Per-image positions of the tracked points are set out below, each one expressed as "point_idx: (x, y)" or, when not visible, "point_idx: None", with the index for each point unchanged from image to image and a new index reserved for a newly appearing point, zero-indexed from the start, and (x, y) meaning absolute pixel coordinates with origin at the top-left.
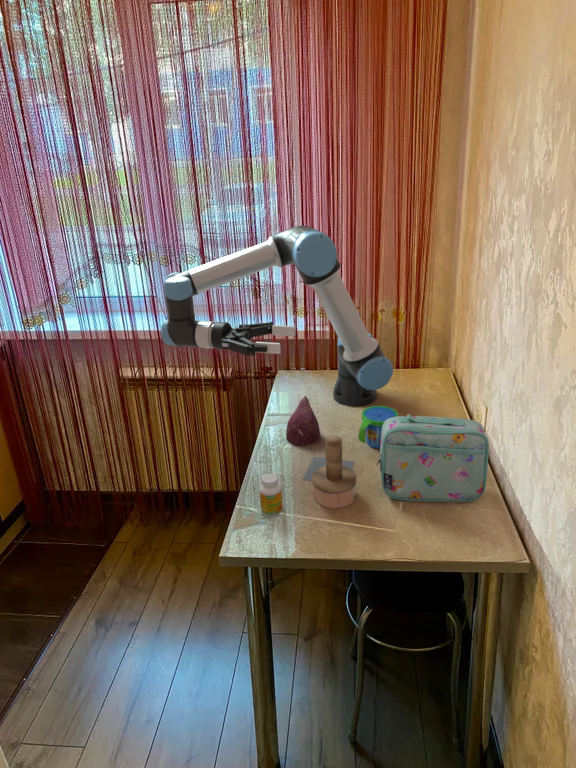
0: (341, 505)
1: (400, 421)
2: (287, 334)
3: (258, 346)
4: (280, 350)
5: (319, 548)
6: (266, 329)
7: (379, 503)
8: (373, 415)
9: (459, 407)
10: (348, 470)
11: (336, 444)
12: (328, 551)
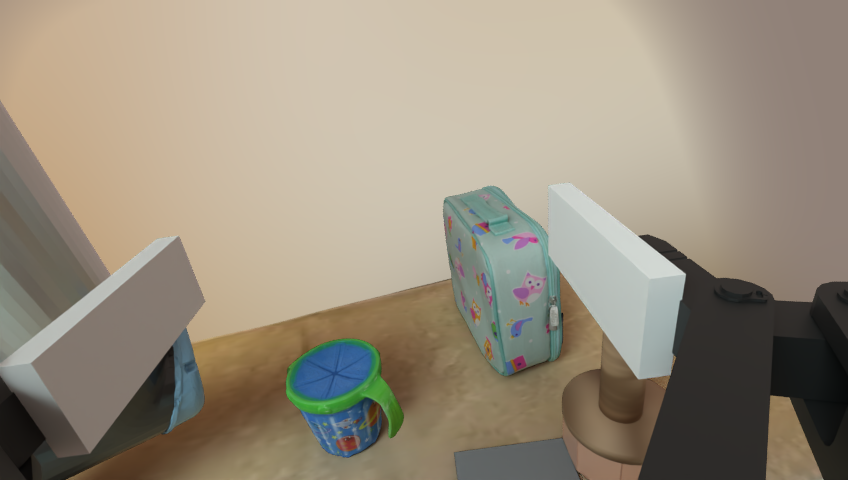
0: None
1: (513, 227)
2: (173, 325)
3: (693, 267)
4: (549, 237)
5: (792, 419)
6: (6, 464)
7: (574, 374)
8: (335, 383)
9: (195, 346)
10: (573, 390)
11: None
12: (780, 403)
